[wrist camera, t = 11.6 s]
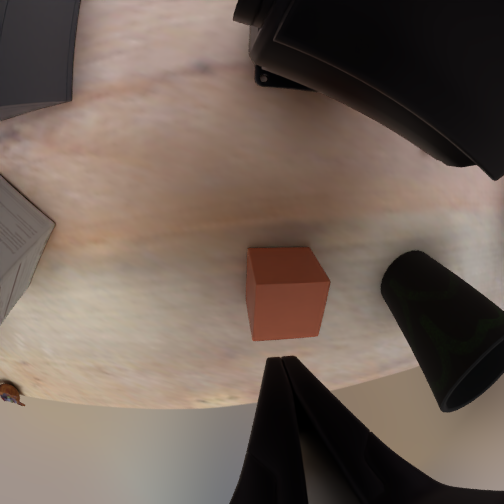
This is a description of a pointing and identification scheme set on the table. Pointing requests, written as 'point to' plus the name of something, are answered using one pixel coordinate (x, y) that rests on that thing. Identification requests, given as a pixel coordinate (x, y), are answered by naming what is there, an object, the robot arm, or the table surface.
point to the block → (285, 293)
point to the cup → (446, 328)
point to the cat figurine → (10, 394)
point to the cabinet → (36, 54)
